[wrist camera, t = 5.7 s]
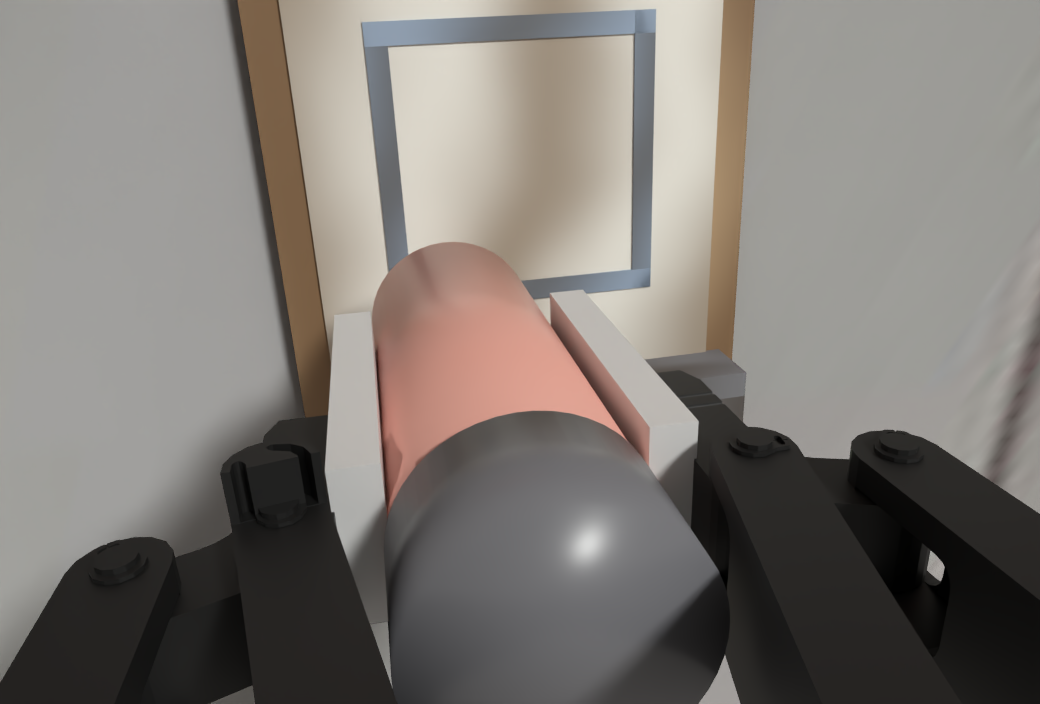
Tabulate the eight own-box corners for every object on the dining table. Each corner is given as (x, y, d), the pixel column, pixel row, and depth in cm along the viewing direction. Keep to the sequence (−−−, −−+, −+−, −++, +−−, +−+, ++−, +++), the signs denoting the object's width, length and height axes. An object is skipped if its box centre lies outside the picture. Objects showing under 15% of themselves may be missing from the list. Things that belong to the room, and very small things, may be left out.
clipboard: (335, 587, 28) (334, 640, 25) (230, -59, 20) (215, -70, 18) (713, 525, 30) (745, 568, 28) (749, -73, 22) (797, -85, 20)
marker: (383, 403, 21) (417, 816, 10) (357, 251, 19) (363, 545, 8) (536, 378, 21) (727, 743, 11) (523, 229, 20) (733, 477, 9)
